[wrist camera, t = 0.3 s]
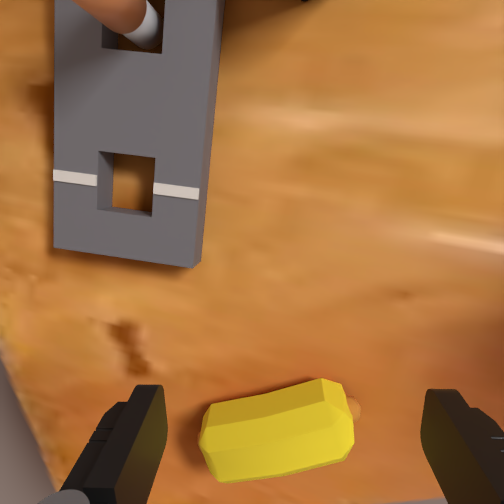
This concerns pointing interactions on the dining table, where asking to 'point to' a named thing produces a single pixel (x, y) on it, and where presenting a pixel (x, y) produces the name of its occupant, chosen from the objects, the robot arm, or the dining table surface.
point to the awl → (128, 19)
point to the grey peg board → (135, 131)
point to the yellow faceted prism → (278, 432)
